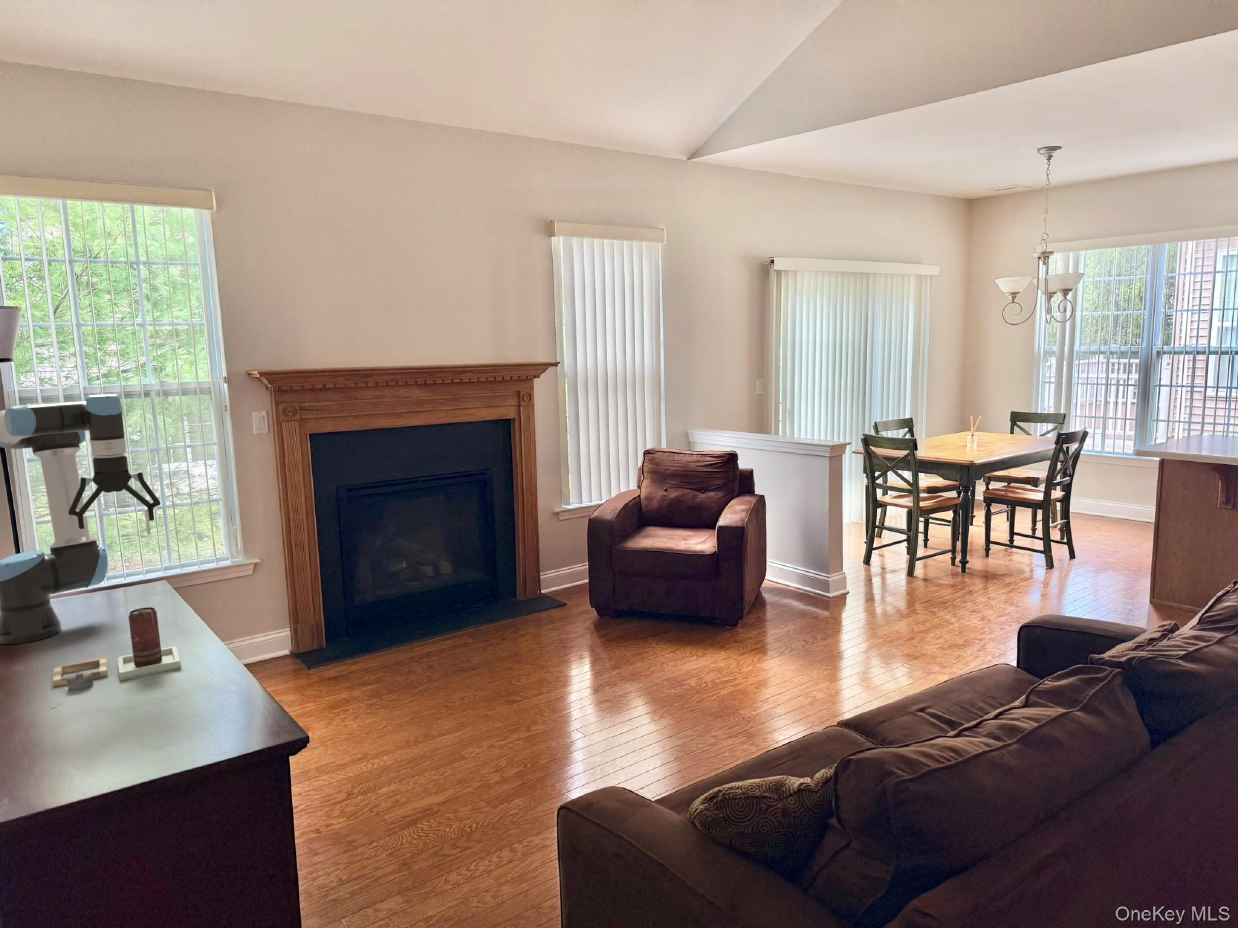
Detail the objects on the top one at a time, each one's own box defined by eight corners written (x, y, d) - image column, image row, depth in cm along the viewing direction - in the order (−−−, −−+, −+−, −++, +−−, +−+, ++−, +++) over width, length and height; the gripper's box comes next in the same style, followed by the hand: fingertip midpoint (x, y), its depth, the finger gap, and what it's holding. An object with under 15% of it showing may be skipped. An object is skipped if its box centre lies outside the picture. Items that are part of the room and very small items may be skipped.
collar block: (55, 672, 208) (53, 660, 208) (107, 662, 214) (105, 650, 213) (52, 696, 193) (50, 682, 193) (108, 684, 199) (106, 671, 198)
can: (151, 669, 206) (144, 614, 204) (128, 668, 207) (122, 613, 206) (168, 660, 212) (162, 606, 210) (147, 659, 213) (140, 606, 211)
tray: (118, 664, 212) (117, 657, 212) (176, 653, 219) (175, 645, 218) (120, 680, 201) (119, 672, 201) (180, 668, 208) (179, 660, 207)
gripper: (50, 462, 204) (60, 547, 207) (166, 452, 216) (174, 532, 220) (51, 458, 210) (61, 541, 213) (164, 449, 223) (172, 527, 226)
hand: (118, 537), depth 216 cm, fingers open, 13 cm apart
